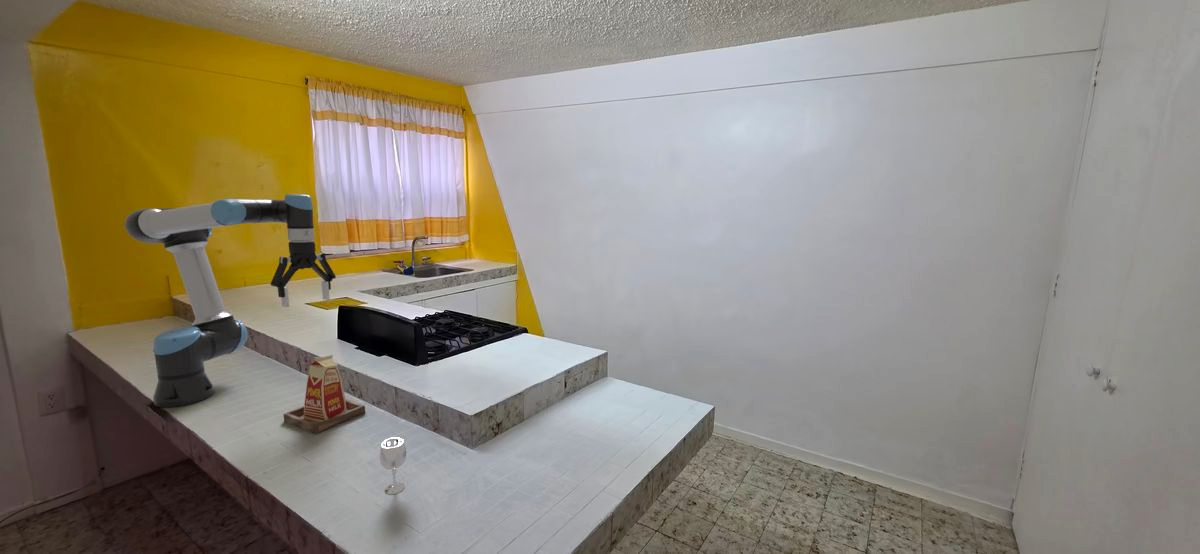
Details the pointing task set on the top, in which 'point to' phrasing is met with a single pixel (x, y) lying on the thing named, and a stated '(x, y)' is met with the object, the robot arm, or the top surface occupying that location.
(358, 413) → the tray
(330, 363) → the milk carton
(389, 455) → the wineglass
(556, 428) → the top surface
